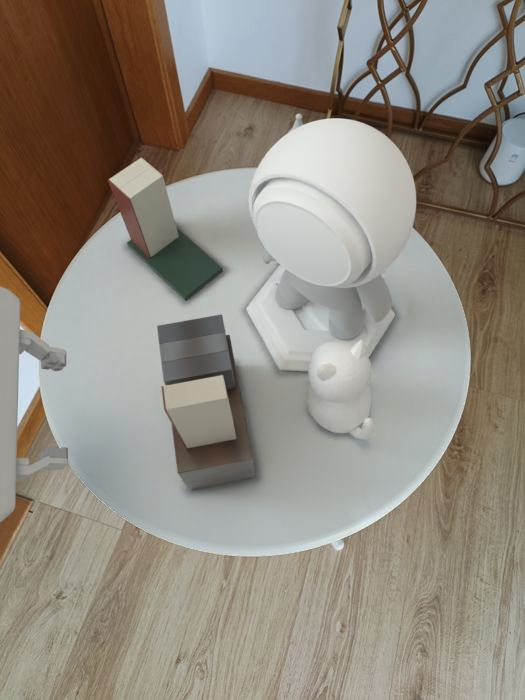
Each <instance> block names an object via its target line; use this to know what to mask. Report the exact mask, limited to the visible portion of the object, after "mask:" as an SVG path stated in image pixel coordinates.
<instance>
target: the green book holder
mask: <svg viewBox="0 0 525 700" xmlns="http://www.w3.org/2000/svg"><path fill="white" fill-rule="evenodd" d="M107 183H108V184H109V187H110V190H111V192H112V194H113V197H114V200H115V203H116V205H117V207H118V210H119V212H120V215H121V218H122V220H123V223H124V225H125V228H126V230H127V233H128V236H129V238H130V239H129V240H128V241H127V242H126V245H127V247H128V248H129V249H130V250H131V251H132V252H133V253H134V254H135V255H137V256H138V258H140V259H141V260H142V261H143V262H144V263H145V264H146V265H147V266H148V267H149V268H150V269H151V270H152V271H153V272H154V273H156V274H157V275H158V276H159V277H160V278H161V279H162V280H163V281H164V282H165V283H166V284H167V285H168V286H169V287H170V288H172V289H173V291H174V292H176V293H177V294H178V296H180V297H181V298H182V299H183V300H184V301H185V302H186V301H188V300H189V299H190V298H191V297H192V296H194V295H195V294H196V293H197V292H199V291H200V290H201V289H203V288H204V287H205V286H206V285H208V284H209V283H210V282H211V281H212V280H214V279H215V278H217V277H218V276H219V275H220V274H221V273H222V272H223V271H224V270H223V269H224V268H223V267H222V266H221V265H220V264H219V263H217V262H216V261H215V260H214V259H213V258H212V257H211V256H210V255H208V254H207V253H206V252H205V251H204V250H203V249H202V248H201V247H200V246H199V245H197V244H196V243H195V242H194V241H192V240H191V238H190V237H188V236H187V235H186V234H185V233H184V232H182V231H181V230H180V229H179V228H178V227H177V225H176V221H175V217H174V213H173V209H172V206H171V202H170V198H169V193H168V190H167V187H166V182H165V178H164V175H163V174H162V173H160V172H159V171H158V170H157V169H156V168H155V167H154V166H152V165H151V164H150V163H148V162H147V161H146V160H145V159H144V158H143V157H139V159H137V160H136V161H134V162H132V163H131V164H129V165H128V166H126V167H125V168H124V169H122V170H120V171H119V172H117V173H116V174H114V175H113V176H112V177H110V178H109V179H107Z"/></svg>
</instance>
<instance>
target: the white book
mask: <svg viewBox="0 0 525 700" xmlns="http://www.w3.org/2000/svg"><path fill="white" fill-rule="evenodd" d="M161 394H162V395H161V396H162V402H163V404H162V405H163V411H164V412H165V414H166V416H167V418H168V419H169V421H170V423H171V426H172V425H173V426H174V428H175V430H176V432H177V434H178V435H179V437H180V439H181V441H182V442H183V444H184V446H185V448H186V449H187V448H192V447H197V446H203V445H208V444H213V443H218V442H223V441H228V440H234V439H236V434H235V428H234V422H233V417H232V413H231V408H230V404H229V399H228V395H227V391H226V386H225V382H224V377H223V375H220V376H215V377H210V378H204V379H199V380H193V381H188V382H183V383H177V384H172V385H161Z"/></svg>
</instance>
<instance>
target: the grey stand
mask: <svg viewBox="0 0 525 700" xmlns="http://www.w3.org/2000/svg"><path fill="white" fill-rule="evenodd" d="M156 330H157V337H158V346H159V355H160V361H161V369H162V371H161V372H162V379H163V383H164V386H166V385H172V384H177V383H183V382H188V381H193V380H199V379H204V378H210V377H215V376H220V375H223V377H224V382H225V386H226V391H227V395H228V399H229V404H230V408H231V413H232V417H233V422H234V428H235V434H236V439H234V440H228V441H223V442H218V443H213V444H208V445H203V446H197V447H192V448H187V449H186V448H185V446H184V444H183V442H182V441H181V439H180V437H179V435H178V434H177V432H176V430H175V428H174V426H173V425H172V424H171V430H172V439H173V447H174V454H175V463H176V472H177V474H178V476H179V478H181V480H182V482H183V483H184V485H186V487H187V489H188V490H189V491H193V490H198V489H203V488H208V487H213V486H218V485H223V484H228V483H233V482H238V481H243V480H248V479H249V480H250V479H253V478H256V471H255V465H254V464H255V463H254V458H253V452H252V447H251V442H250V437H249V431H248V425H247V420H246V415H245V409H244V405H243V404H244V403H243V398H242V393H241V388H240V382H239V377H238V372H237V367H236V361H235V355H234V350H233V346H232V340H231V335H230V334H226V329H225V323H224V317H223V314H216V315H210V316H205V317H199V318H194V319H188V320H182V321H176V322H170V323H166V324H159V325H157V326H156Z"/></svg>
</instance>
